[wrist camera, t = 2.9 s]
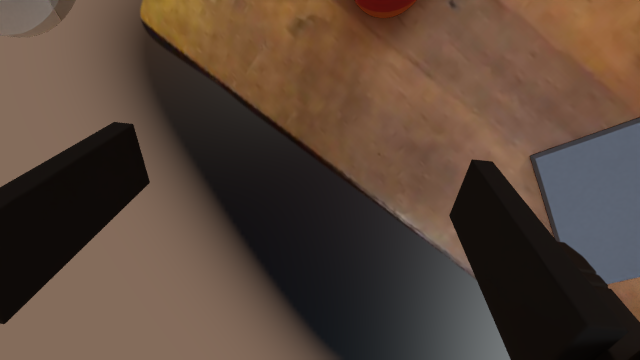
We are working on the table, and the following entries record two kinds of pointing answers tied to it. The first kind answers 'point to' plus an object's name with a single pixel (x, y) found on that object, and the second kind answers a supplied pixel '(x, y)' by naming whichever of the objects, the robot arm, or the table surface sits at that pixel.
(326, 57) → the table surface
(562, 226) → the cup mat
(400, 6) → the coffee cup
